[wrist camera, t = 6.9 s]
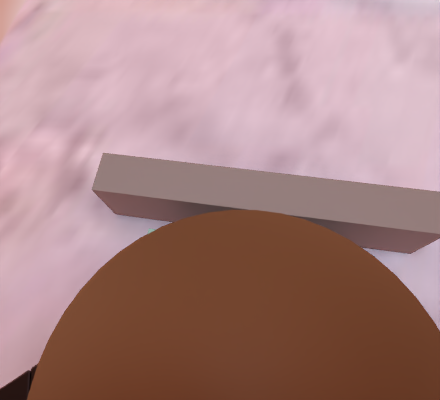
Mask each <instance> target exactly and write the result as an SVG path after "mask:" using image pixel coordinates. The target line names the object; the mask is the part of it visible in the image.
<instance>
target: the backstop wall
mask: <svg viewBox="0 0 440 400" xmlns="http://www.w3.org/2000/svg"><path fill="white" fill-rule="evenodd" d="M92 190H93V191H94V193H95V194H96V195H97V196H98V197H99V198H100V199H101V200H102V201H103V202H104V203H105V204H106V205H107V206H108V207H109V208H110V209H111V210H112V211H113V212H114V213H115V214H119V215H126V216H133V217H141V218H148V219H156V220H163V221H171V222H176V221H178V220H181V219H184V218H187V217H192V216H196V215H200V214H204V213H208V212H217V211H226V210H260V211H268V212H275V213H282V214H286V215H289V216H293V217H297V218H301V219H305V220H307V221H310V222H313V223H315V224H318V225H320V226H323V227H325V228H328V229H330V230H332V231H334V232H336V233H337V234H339V235H341V236H343V237H345V238H347V239H349V240H351V241H352V242H354V243H355V244H357V245H358V246H360V247H365V248H372V249H380V250H387V251H395V252H402V253H409V254H411V253H413V252H415V251H417V250H418V249H420V248H422V247H424V246H426V245H428V244H430V243H432V242H434V241H436V240H437V239H439V238H440V192H437V191H429V190H420V189H411V188H403V187H394V186H385V185H377V184H368V183H359V182H351V181H342V180H333V179H325V178H316V177H308V176H299V175H290V174H282V173H273V172H264V171H256V170H247V169H238V168H230V167H221V166H212V165H204V164H195V163H186V162H178V161H169V160H161V159H152V158H143V157H135V156H126V155H117V154H109V153H103V155H102V158H101V161H100V165H99V168H98V171H97V174H96V177H95V181H94V184H93V187H92Z"/></svg>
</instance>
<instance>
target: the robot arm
mask: <svg viewBox="0 0 440 400" xmlns="http://www.w3.org/2000/svg"><path fill="white" fill-rule="evenodd" d="M37 366H38V364H37V365H35V366H34V367H32V369H31V371H30V370H28V371H26V372H25V373H23V374H22V375H20V376H19V377H17V378H16V379H14V380H13V381H12V382H10V383H8V384H7V385H5V386H4V387H2V388H1V389H0V400H27V398H28V394H29V391H30V388H31V384H32V381H33V378H34V375H35V372H36V369H37Z"/></svg>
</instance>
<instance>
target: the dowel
mask: <svg viewBox="0 0 440 400" xmlns="http://www.w3.org/2000/svg"><path fill="white" fill-rule="evenodd" d="M27 400H440V331H439V329H438V328H437V326H436V324H435V323H434V321H433V320H432V318H431V317H430V316H429V314H428V313H427V312H426V310H425V309H424V308H423V306H422V305H421V303H420V302H419V301H418V299H417V298H416V297H415V296H414V295H413V294H412V292H411V291H410V290H409V289H408V288H407V287H406V286H405V285H404V284H403V283H402V282H401V281H400V279H399V278H398V277H397V276H396V275H395V274H394V273H393V272H391V271H390V270H389V269H388V268H387V267H386V266H384V265H383V264H382V263H381V262H380V261H379V260H378V259H376V258H375V257H374V256H373V255H371V254H370V253H368V252H367V251H365V250H364V249H362V248H361V247H360V246H358V245H357V244H355V243H354V242H352V241H351V240H349V239H347V238H345V237H343V236H341V235H339V234H337V233H336V232H334V231H332V230H330V229H328V228H325V227H323V226H320V225H318V224H315V223H313V222H310V221H307V220H305V219H301V218H297V217H293V216H289V215H286V214H282V213H275V212H268V211H260V210H226V211H217V212H208V213H204V214H200V215H196V216H192V217H187V218H184V219H181V220H178V221H176V222H173V223H170V224H168V225H165V226H162V227H160V228H158V229H157V230H155V231H153V232H151V233H149V234H147V235H145V236H143V237H141V238H139V239H138V240H136V241H135V242H134V243H132V244H131V245H129V246H128V247H126V248H125V249H123V250H122V251H120V252H119V253H118V254H117V255H115V256H114V257H113V258H112V259H111V260H110V261H108V262H107V263H106V264H105V265H104V266H103V267H102V268H100V269H99V270H98V271H97V272H96V274H95V275H94V276H93V277H92V278H91V279H90V280H89V281H88V282H87V283H86V284H85V286H84V287H83V288H82V289H81V290H80V291H79V293H78V294H77V296H76V297H75V298H74V300H73V301H72V302H71V304H70V305H69V306H68V308H67V309H66V311H65V312H64V314H63V315H62V317H61V319H60V321H59V322H58V324H57V326H56V328H55V329H54V331H53V333H52V335H51V336H50V338H49V340H48V343H47V345H46V347H45V350H44V352H43V354H42V356H41V359H40V361H39V363H38V366H37V369H36V372H35V375H34V378H33V381H32V384H31V388H30V391H29V394H28V398H27Z"/></svg>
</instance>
